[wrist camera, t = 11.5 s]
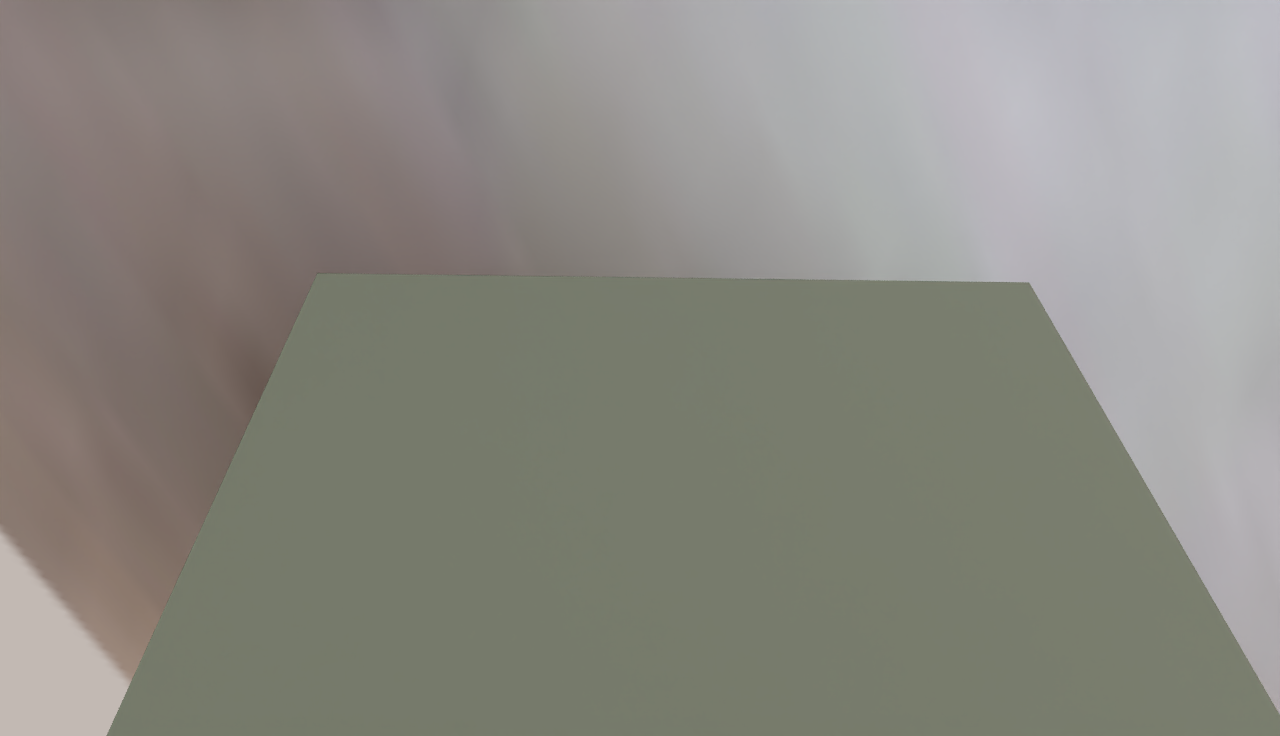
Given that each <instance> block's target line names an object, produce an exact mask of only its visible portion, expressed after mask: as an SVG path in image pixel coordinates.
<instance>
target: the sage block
mask: <svg viewBox="0 0 1280 736" xmlns="http://www.w3.org/2000/svg"><path fill="white" fill-rule="evenodd" d="M107 736H1280V715H1279V713H1278V711H1277V710H1276V708H1275V706H1274V704H1273V703H1272V701H1271V699H1270V697H1269V696H1268V694H1267V692H1266V691H1265V689H1264V687H1263V685H1262V684H1261V682H1260V680H1259V678H1258V677H1257V675H1256V673H1255V672H1254V670H1253V668H1252V666H1251V665H1250V663H1249V661H1248V659H1247V658H1246V656H1245V654H1244V653H1243V651H1242V649H1241V647H1240V646H1239V644H1238V642H1237V640H1236V639H1235V637H1234V635H1233V634H1232V632H1231V630H1230V628H1229V627H1228V625H1227V623H1226V622H1225V620H1224V618H1223V616H1222V615H1221V613H1220V611H1219V609H1218V608H1217V606H1216V604H1215V603H1214V601H1213V599H1212V597H1211V596H1210V594H1209V592H1208V590H1207V589H1206V587H1205V585H1204V584H1203V582H1202V580H1201V578H1200V577H1199V575H1198V573H1197V571H1196V570H1195V568H1194V566H1193V565H1192V563H1191V561H1190V559H1189V558H1188V556H1187V554H1186V552H1185V551H1184V549H1183V547H1182V546H1181V544H1180V542H1179V540H1178V539H1177V537H1176V535H1175V534H1174V532H1173V530H1172V528H1171V527H1170V525H1169V523H1168V521H1167V520H1166V518H1165V516H1164V515H1163V513H1162V511H1161V509H1160V508H1159V506H1158V504H1157V502H1156V501H1155V499H1154V497H1153V496H1152V494H1151V492H1150V490H1149V489H1148V487H1147V485H1146V483H1145V482H1144V480H1143V478H1142V477H1141V475H1140V473H1139V471H1138V470H1137V468H1136V466H1135V464H1134V463H1133V461H1132V459H1131V458H1130V456H1129V454H1128V452H1127V451H1126V449H1125V447H1124V446H1123V444H1122V442H1121V440H1120V439H1119V437H1118V435H1117V433H1116V432H1115V430H1114V428H1113V427H1112V425H1111V423H1110V421H1109V420H1108V418H1107V416H1106V414H1105V413H1104V411H1103V409H1102V408H1101V406H1100V404H1099V402H1098V401H1097V399H1096V397H1095V395H1094V394H1093V392H1092V390H1091V389H1090V387H1089V385H1088V383H1087V382H1086V380H1085V378H1084V376H1083V375H1082V373H1081V371H1080V370H1079V368H1078V366H1077V364H1076V363H1075V361H1074V359H1073V358H1072V356H1071V354H1070V352H1069V351H1068V349H1067V347H1066V345H1065V344H1064V342H1063V340H1062V339H1061V337H1060V335H1059V333H1058V332H1057V330H1056V328H1055V326H1054V325H1053V323H1052V321H1051V320H1050V318H1049V316H1048V314H1047V313H1046V311H1045V309H1044V307H1043V306H1042V304H1041V302H1040V301H1039V299H1038V297H1037V295H1036V294H1035V292H1034V290H1033V288H1032V287H1031V285H1030V283H1023V282H947V281H870V280H794V279H717V278H640V277H564V276H487V275H411V274H334V273H317V275H316V277H315V280H314V282H313V284H312V286H311V288H310V291H309V293H308V295H307V297H306V299H305V302H304V304H303V306H302V308H301V310H300V313H299V315H298V317H297V319H296V321H295V324H294V326H293V328H292V330H291V332H290V335H289V337H288V339H287V341H286V343H285V345H284V348H283V350H282V352H281V354H280V356H279V359H278V361H277V363H276V365H275V367H274V370H273V372H272V374H271V376H270V378H269V381H268V383H267V385H266V387H265V389H264V392H263V394H262V396H261V398H260V400H259V403H258V405H257V407H256V409H255V411H254V414H253V416H252V418H251V420H250V422H249V424H248V427H247V429H246V431H245V433H244V435H243V438H242V440H241V442H240V444H239V446H238V449H237V451H236V453H235V455H234V457H233V460H232V462H231V464H230V466H229V468H228V471H227V473H226V475H225V477H224V479H223V482H222V484H221V486H220V488H219V490H218V492H217V495H216V497H215V499H214V501H213V503H212V506H211V508H210V510H209V512H208V514H207V517H206V519H205V521H204V523H203V525H202V528H201V530H200V532H199V534H198V536H197V539H196V541H195V543H194V545H193V547H192V550H191V552H190V554H189V556H188V558H187V561H186V563H185V565H184V567H183V569H182V571H181V574H180V576H179V578H178V580H177V582H176V585H175V587H174V589H173V591H172V593H171V596H170V598H169V600H168V602H167V604H166V607H165V609H164V611H163V613H162V615H161V618H160V620H159V622H158V624H157V626H156V629H155V631H154V633H153V635H152V637H151V639H150V642H149V644H148V646H147V648H146V650H145V653H144V655H143V657H142V659H141V661H140V664H139V666H138V668H137V670H136V672H135V675H134V677H133V679H132V681H131V683H130V686H129V688H128V690H127V692H126V694H125V697H124V699H123V701H122V703H121V705H120V708H119V710H118V712H117V714H116V716H115V718H114V721H113V723H112V725H111V727H110V729H109V732H108V734H107Z"/></svg>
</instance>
